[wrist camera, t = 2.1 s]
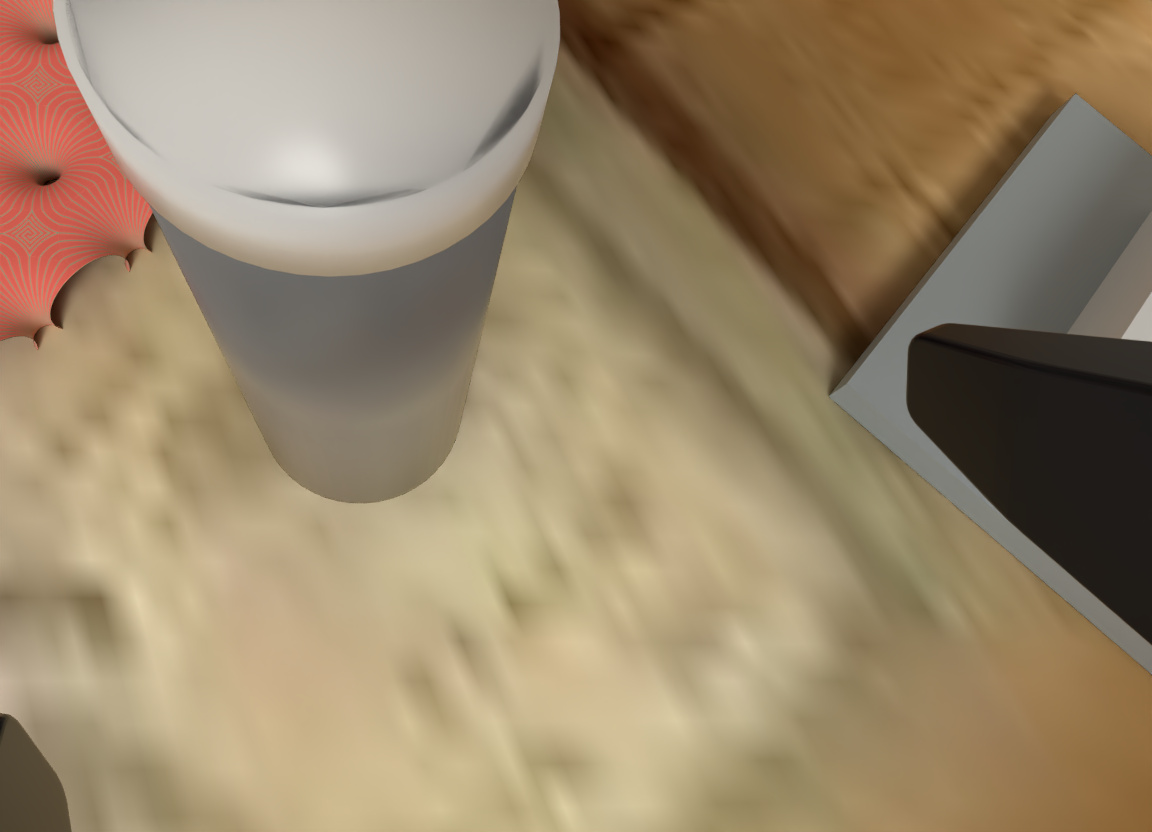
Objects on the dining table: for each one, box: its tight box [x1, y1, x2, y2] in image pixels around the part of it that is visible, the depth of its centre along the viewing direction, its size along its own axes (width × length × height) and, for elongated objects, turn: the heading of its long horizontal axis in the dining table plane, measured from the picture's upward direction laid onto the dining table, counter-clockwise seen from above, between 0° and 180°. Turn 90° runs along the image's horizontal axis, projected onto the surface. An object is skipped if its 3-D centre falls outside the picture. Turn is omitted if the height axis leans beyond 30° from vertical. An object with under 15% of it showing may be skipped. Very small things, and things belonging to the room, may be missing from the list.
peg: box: [53, 0, 560, 503], centre depth 15 cm, size 5×5×13 cm
